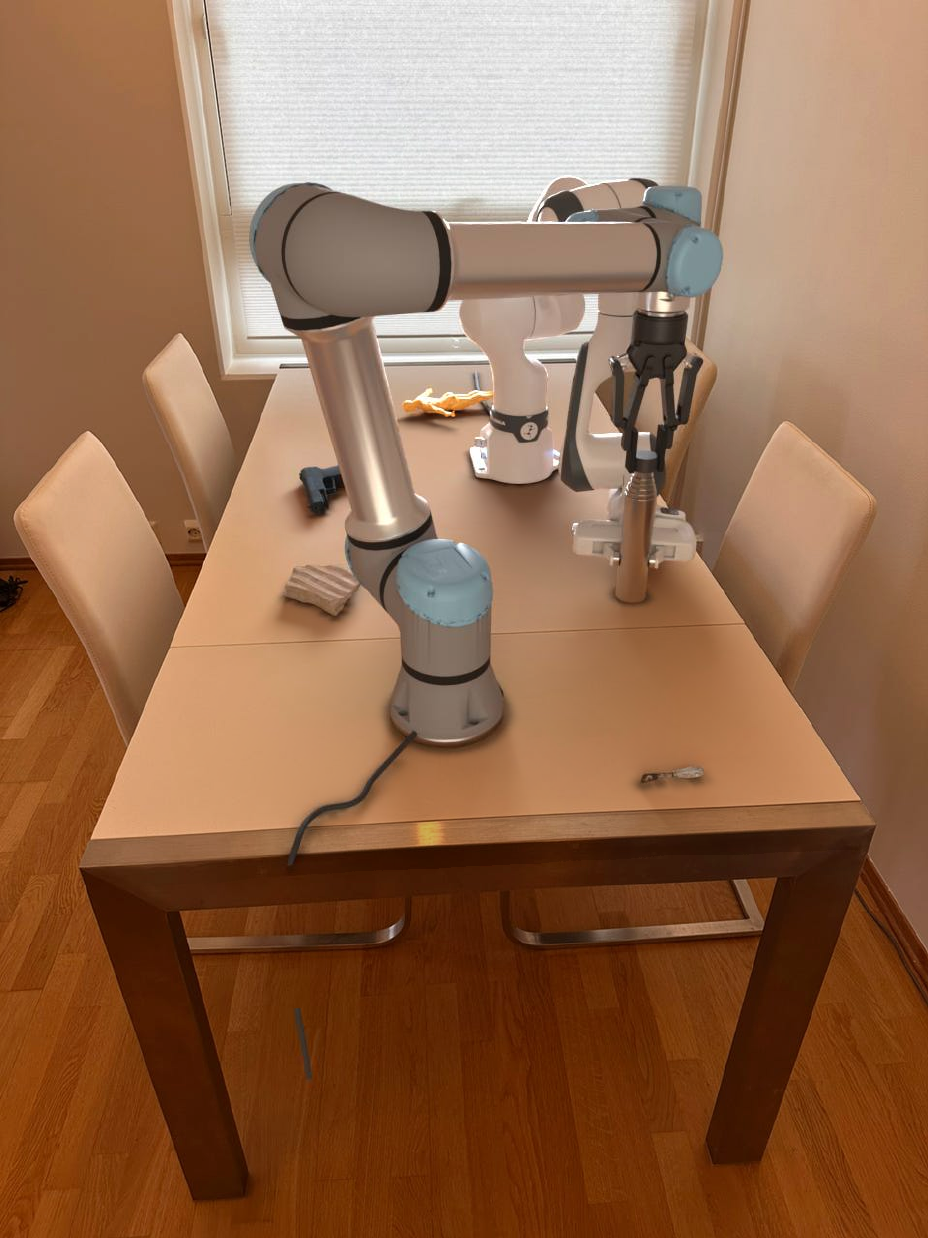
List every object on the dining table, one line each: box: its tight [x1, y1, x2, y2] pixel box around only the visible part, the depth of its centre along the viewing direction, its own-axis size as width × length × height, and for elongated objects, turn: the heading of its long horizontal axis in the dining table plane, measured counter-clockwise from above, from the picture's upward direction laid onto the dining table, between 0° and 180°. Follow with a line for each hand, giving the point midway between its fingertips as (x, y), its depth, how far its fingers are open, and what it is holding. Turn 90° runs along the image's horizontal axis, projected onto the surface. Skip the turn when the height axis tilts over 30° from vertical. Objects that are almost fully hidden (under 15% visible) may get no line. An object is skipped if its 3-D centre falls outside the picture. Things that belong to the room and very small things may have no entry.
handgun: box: [298, 464, 345, 515], centre depth 181 cm, size 3×18×12 cm
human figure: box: [402, 385, 493, 418], centre depth 225 cm, size 20×20×4 cm
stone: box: [283, 564, 361, 617], centre depth 148 cm, size 13×12×3 cm
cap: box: [635, 450, 658, 473], centre depth 135 cm, size 4×4×2 cm
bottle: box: [614, 472, 658, 604], centre depth 141 cm, size 5×5×24 cm
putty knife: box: [640, 765, 705, 784], centre depth 109 cm, size 1×8×2 cm, turn 103°
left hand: (643, 468), depth 135 cm, fingers closed on cap, 4 cm apart
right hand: (634, 563), depth 143 cm, fingers closed on bottle, 5 cm apart
